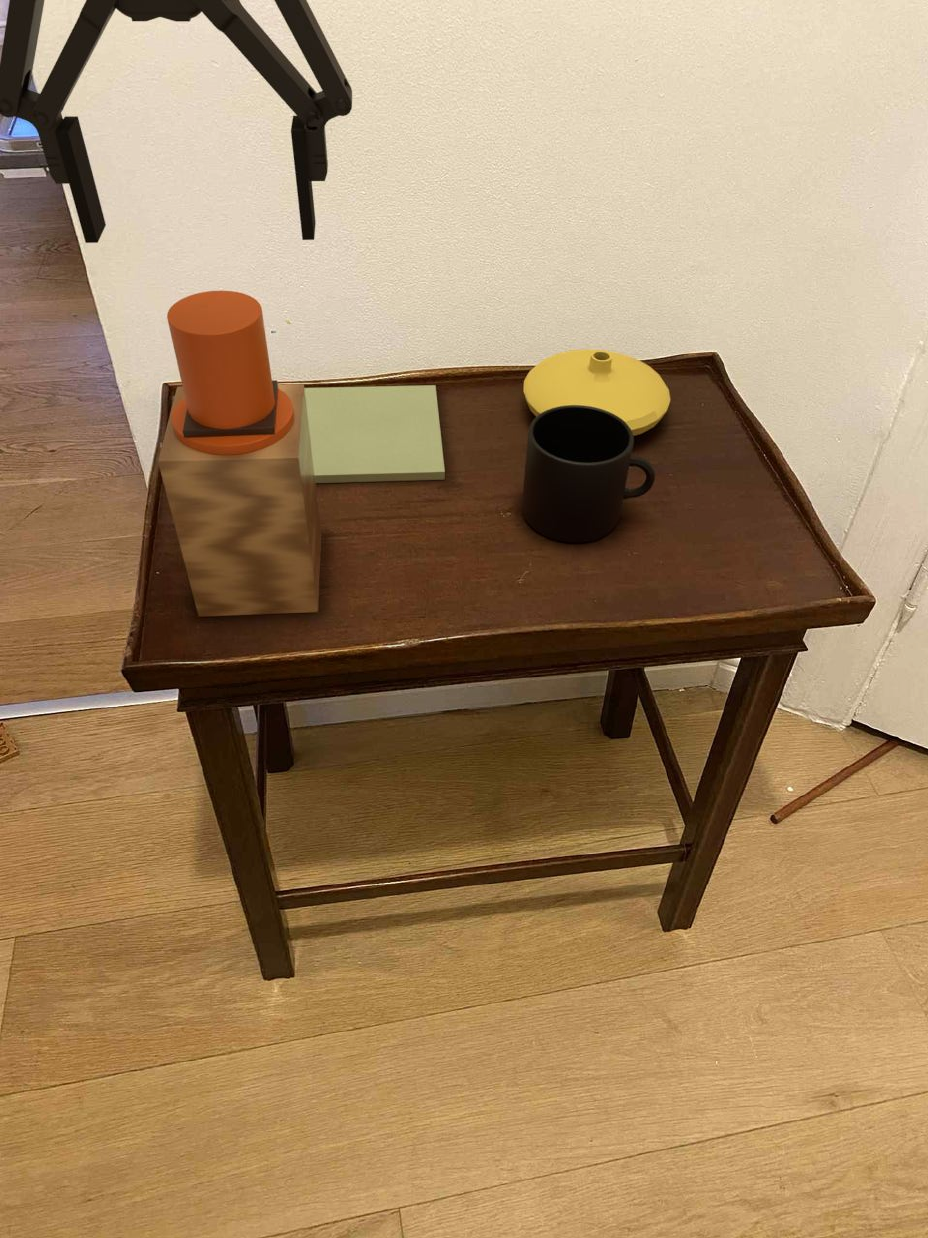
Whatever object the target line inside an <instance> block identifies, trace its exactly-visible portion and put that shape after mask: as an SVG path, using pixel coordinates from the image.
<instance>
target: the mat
mask: <svg viewBox="0 0 928 1238" xmlns="http://www.w3.org/2000/svg"><path fill="white" fill-rule="evenodd" d="M304 388H305V397H306V406H307V414H308V423H309V432H310V441H311V450H312V458H313V467H314V476H315V484H336V483H371V482H372V483H373V482H405V481H406V482H407V481H409V482H410V481H441V480H443V481H444V480H445V479H446V468H445V459H444V450H443V441H442V432H441V424H440V423H441V422H440V414H439V405H438V404H439V403H438V396H437V386H436V384H430V385H429V384H428V385H427V384H426V385H425V384H424V385H384V386H383V385H382V386H381V385H380V386H378V385H377V386H375V385H374V386H336V387H335V386H334V387H329V386H327V387H304Z"/></svg>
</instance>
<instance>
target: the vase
mask: <svg viewBox="0 0 928 1238" xmlns="http://www.w3.org/2000/svg"><path fill="white" fill-rule="evenodd" d="M522 391H523V395H524V398H525V401H526V404H527V406H528V409H529V411H530V412H531V413H532V414H533V415H534V416H535V418H536V417H537V416H538V415H539V414H541V413H542V412H544V411H546V410H549V409H552V408H555V407H560V406H566V405H583V406H590V407H595V408H599V409H602V410H605V411H608V412H610V413H612V414H614V415H616V416H618V417H619V418H621V419H622V420H623V421H624V422H625V423H626V424H627V425H628V426H629V427H630V429H631V431H632V433H633V437H634V436H638V435H642V434H644V433H645V432H648V431H649V430H651V429H653V428H655V426H657V424H658V423H659V422H660V421H661V420H662V419H663V417H664V416H665V414H666V413H667V412H668V408H669V406H670V403H671V395H670V389H669V388H668V386H667V384H666V383H665V381H664V380H663V378H662V377H661V375H660V374H659V373H658V372H657V371H656V370H654V369H653V368H652V366H650V365H648V364H646V363H645V362H643V361H641V360H639V359H637V358H635V357H632V356H629V355H627V354H624V353H621V352H615V351H610V350H603V349H587V348H586V349H585V348H584V349H574V350H568V351H563V352H559V353H555V354H552V355H551V356H548V357H546V358H543V359H542V360H541V361H540V362H539V363H537V364H536V365H535V366H534V367H533V368H532V369H531V370H529V372H528V373H527V375H526V377H525V378H524V380H523V390H522Z"/></svg>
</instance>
